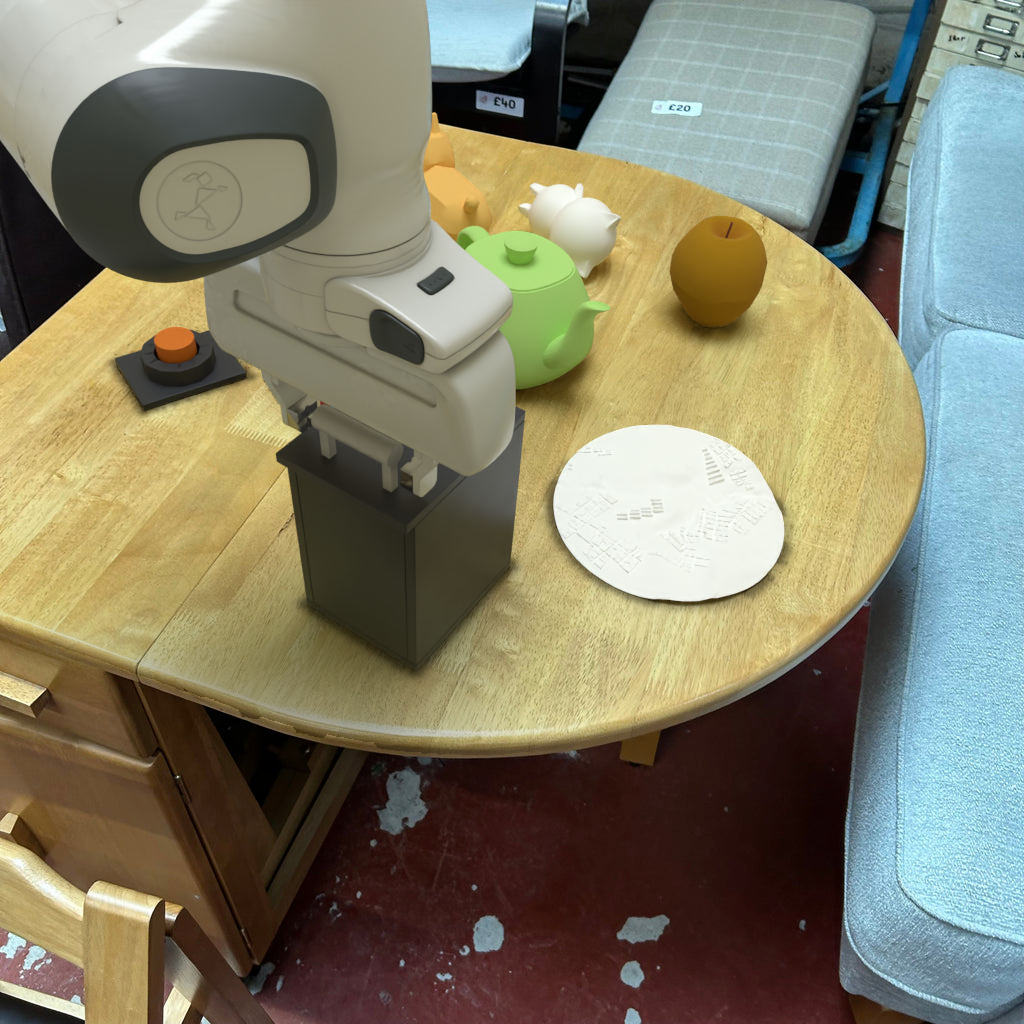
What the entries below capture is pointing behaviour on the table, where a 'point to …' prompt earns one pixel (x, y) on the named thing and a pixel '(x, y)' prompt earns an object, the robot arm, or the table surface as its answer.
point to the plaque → (668, 514)
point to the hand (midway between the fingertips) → (358, 454)
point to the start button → (175, 345)
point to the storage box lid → (365, 467)
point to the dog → (451, 188)
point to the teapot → (538, 302)
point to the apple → (718, 270)
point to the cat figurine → (573, 223)
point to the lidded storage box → (408, 558)
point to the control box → (178, 372)
